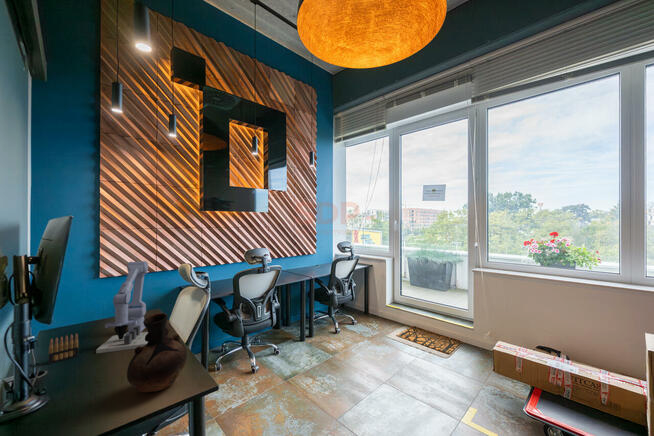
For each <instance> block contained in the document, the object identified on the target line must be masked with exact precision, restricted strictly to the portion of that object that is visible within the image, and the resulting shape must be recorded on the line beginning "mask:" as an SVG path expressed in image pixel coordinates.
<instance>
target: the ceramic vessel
mask: <svg viewBox="0 0 654 436" xmlns="http://www.w3.org/2000/svg"><path fill="white" fill-rule="evenodd" d="M167 320H168V314H167V313H164V312H161V313H154V314H151V315H149V316H147V317H146V318H144V321H143V323H144V327H146V328H145V329H146V330H147V331H146V332H148V334H147V335H146V336H145V341H147V342H148V343H147V344H145V345H144V346H143V347H141V346H139V347H137V348H136V349H134V355H133V357H132V358H131V360H130V361H129V363H128V366H127V370H126V371H127V372H126V378H127V381H128V382H129V384H130V386H131V387H132V388H133V389H134V390H136V391H138V392H141V393H153V392H158V391H162V390H163V389H166V388H168V387H169V386H171V385H172V384H173V383H174V382H176V380H177V379H178V378H179V376H180V375H181V373H182V372H183V371H184V368H185V366H186V364H187V359H188V353H187V348H186V346H185V345H184V343H183V342H182V341H181V340H180V339H181V337H180V336H179V334H178V333H175V334H174V335H173V336H172V337H169V336H168V335H169V331H170V330H169V329H168V327H167V322H168V321H167Z"/></svg>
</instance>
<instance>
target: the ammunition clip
mask: <svg viewBox="0 0 654 436" xmlns="http://www.w3.org/2000/svg"><path fill="white" fill-rule="evenodd" d="M48 346H49V347H48V361H47V365H52V364H56V363H60V362H63V361H68V360H71V359H75V358H79V335H78V333H75V336H73V334H70V337H69V336H68V335H65V337H64V338H63V336H60V339H59V338H58V337H55V340H54V339H53V338H51V339H50V340H49V345H48Z"/></svg>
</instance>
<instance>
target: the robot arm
mask: <svg viewBox="0 0 654 436" xmlns="http://www.w3.org/2000/svg"><path fill="white" fill-rule="evenodd" d="M126 269H127V272H128V273H127V276H126V279H125V281H124V282H122V284H121V286H120V288H119V290H118V292H117V293H116V294H115V295H114V296H113V299H112V304H113V307H114V308H115V309H114V310H115V313H114V321H113V322H108V323H106V324H104V327H105V329H107V328H113V329H114V331H115V333H116V335H118V337H119V340H121V339H123V338H124V334H129V332H130V331H131V330H134V327H135V326H140V333H143V330H144V329H147V328H146V327H145V325H144V323H143V321H144V320H145V315H146V313H147V304H146V302H144V301H142V299H143V298H142V297H143V291H144V290H143V289H144V281H145V275H147V274H148V272H149V263H148V262H147V260H144V261H129V262H128V263H127V265H126ZM132 290H133V291H132ZM131 292H132V294H131ZM131 296H132V297H131ZM127 329H128V331H127V332H126V330H127Z"/></svg>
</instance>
